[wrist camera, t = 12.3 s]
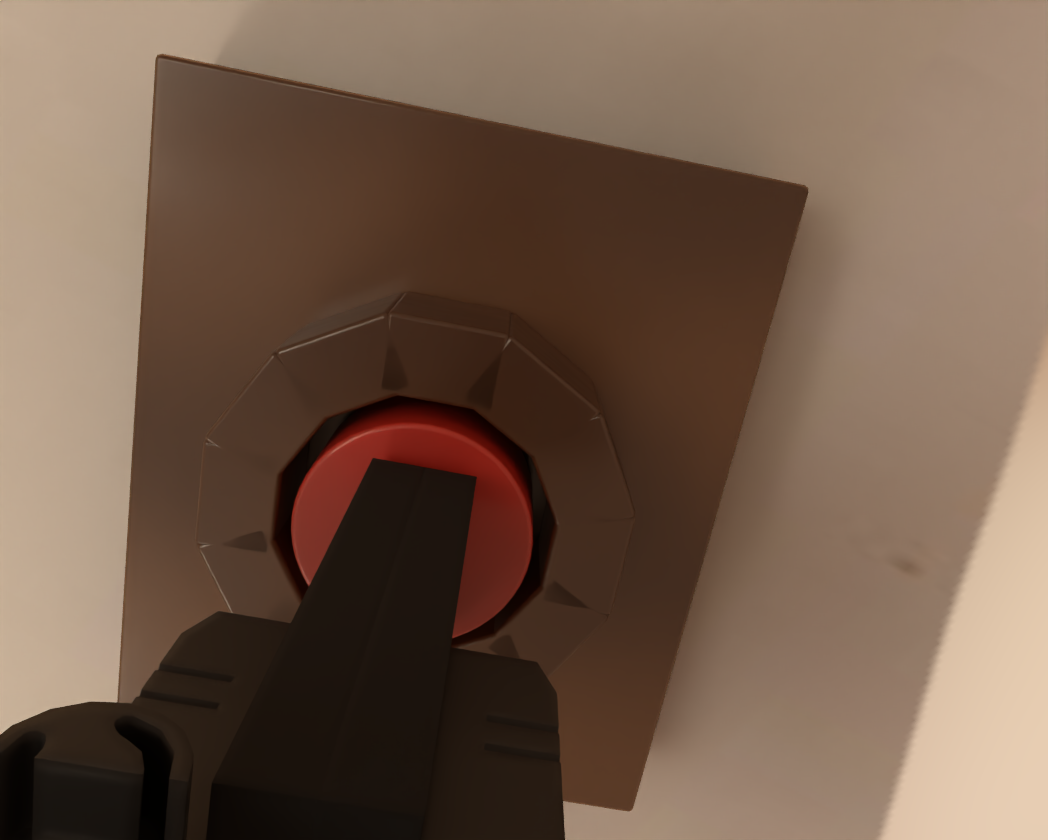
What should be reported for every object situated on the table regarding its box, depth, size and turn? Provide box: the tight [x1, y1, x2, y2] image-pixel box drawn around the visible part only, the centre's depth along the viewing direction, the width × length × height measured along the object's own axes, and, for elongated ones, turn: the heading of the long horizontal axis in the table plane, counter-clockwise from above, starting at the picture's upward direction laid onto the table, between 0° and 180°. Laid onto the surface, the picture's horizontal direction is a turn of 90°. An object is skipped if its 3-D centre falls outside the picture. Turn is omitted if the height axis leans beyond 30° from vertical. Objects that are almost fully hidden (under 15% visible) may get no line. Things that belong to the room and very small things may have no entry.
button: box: [291, 395, 533, 638], centre depth 14 cm, size 4×4×2 cm
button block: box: [117, 54, 809, 811], centre depth 15 cm, size 12×10×4 cm
